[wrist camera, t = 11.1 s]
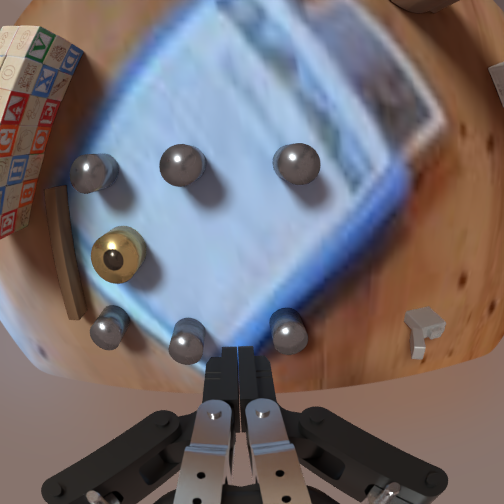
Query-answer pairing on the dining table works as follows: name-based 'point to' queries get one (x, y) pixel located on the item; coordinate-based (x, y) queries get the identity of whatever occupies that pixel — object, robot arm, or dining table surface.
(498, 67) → the small box
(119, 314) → the spacers
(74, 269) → the bar
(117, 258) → the gold short domed cylinder
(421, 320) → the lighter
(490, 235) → the dining table surface
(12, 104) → the stack of blocks
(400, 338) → the dining table surface
